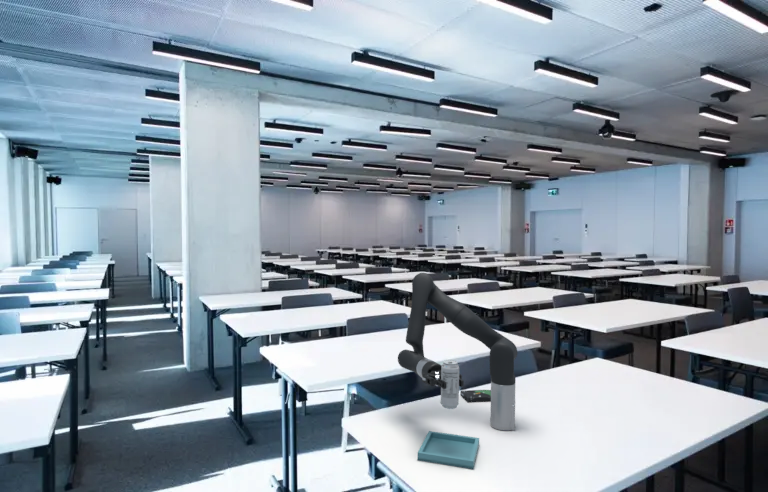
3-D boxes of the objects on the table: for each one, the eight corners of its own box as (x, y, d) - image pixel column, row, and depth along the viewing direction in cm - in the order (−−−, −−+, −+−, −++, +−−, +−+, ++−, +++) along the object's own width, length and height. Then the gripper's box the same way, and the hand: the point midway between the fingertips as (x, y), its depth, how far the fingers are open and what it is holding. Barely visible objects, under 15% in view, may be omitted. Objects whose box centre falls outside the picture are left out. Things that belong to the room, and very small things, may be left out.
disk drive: (467, 404, 201) (499, 402, 203) (467, 398, 201) (499, 396, 203) (460, 396, 211) (489, 394, 213) (459, 390, 211) (489, 388, 213)
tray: (479, 445, 158) (479, 438, 158) (473, 469, 141) (473, 461, 141) (428, 437, 164) (429, 430, 164) (417, 460, 146) (417, 452, 146)
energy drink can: (459, 404, 154) (460, 360, 154) (456, 410, 149) (457, 365, 148) (442, 401, 156) (443, 359, 156) (438, 407, 151) (439, 363, 150)
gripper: (412, 362, 163) (435, 375, 147) (447, 359, 168) (472, 371, 153) (412, 383, 163) (434, 398, 147) (447, 379, 168) (472, 393, 153)
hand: (453, 384), depth 150 cm, fingers closed on energy drink can, 6 cm apart
